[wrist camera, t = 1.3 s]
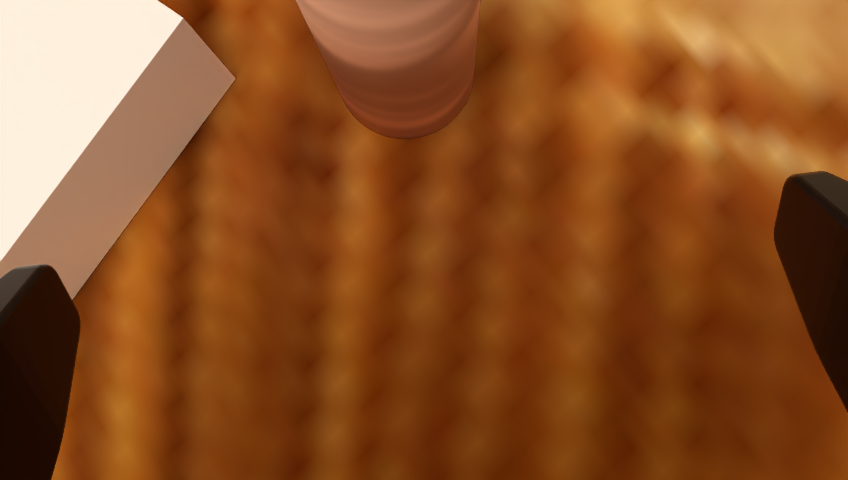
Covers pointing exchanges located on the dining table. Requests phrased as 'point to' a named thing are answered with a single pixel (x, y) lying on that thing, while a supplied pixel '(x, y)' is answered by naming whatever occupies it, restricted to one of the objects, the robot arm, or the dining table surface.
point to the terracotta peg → (398, 59)
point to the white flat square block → (92, 122)
